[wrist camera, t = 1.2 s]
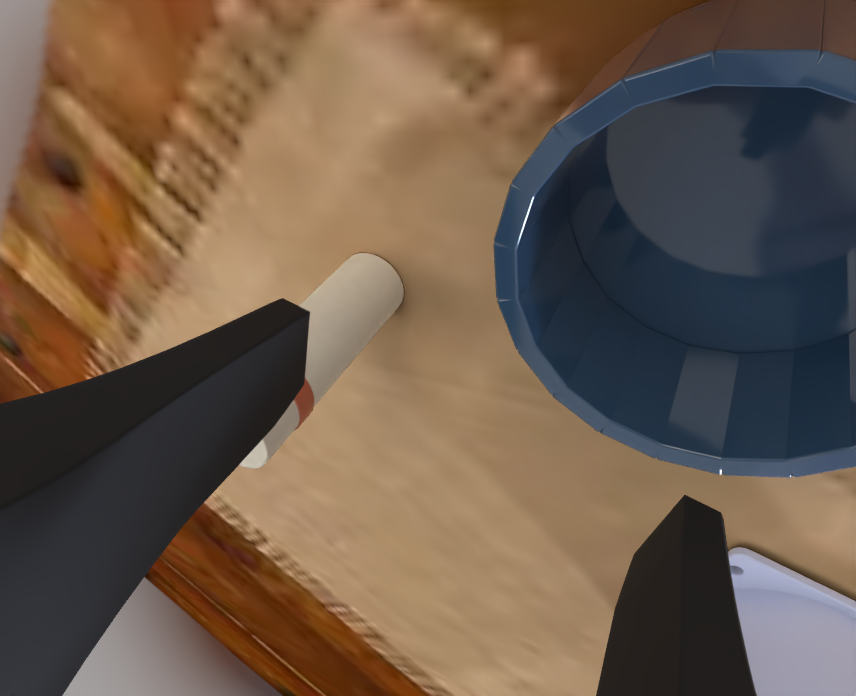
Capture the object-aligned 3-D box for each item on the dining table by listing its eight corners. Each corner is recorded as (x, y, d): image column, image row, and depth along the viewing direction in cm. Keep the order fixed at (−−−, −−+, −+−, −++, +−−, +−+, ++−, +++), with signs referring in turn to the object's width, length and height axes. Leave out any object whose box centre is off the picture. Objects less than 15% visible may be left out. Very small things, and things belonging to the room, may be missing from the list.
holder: (822, 406, 20) (818, 537, 16) (516, 274, 22) (455, 365, 18) (1128, 78, 13) (1236, 185, 9) (635, -74, 15) (574, -32, 11)
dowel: (400, 323, 25) (268, 483, 20) (339, 295, 26) (194, 443, 20) (410, 269, 24) (269, 428, 18) (345, 239, 24) (187, 384, 18)
